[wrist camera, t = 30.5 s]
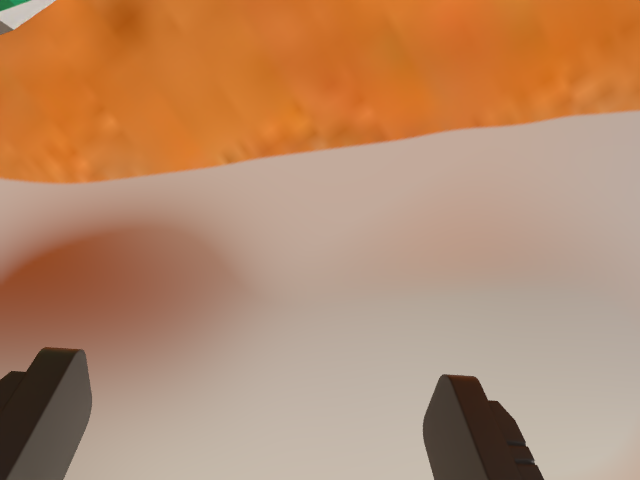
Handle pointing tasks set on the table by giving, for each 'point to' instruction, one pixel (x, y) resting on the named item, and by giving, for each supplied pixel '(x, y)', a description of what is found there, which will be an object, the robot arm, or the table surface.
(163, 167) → the table surface
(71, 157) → the table surface
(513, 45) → the table surface
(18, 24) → the toy
